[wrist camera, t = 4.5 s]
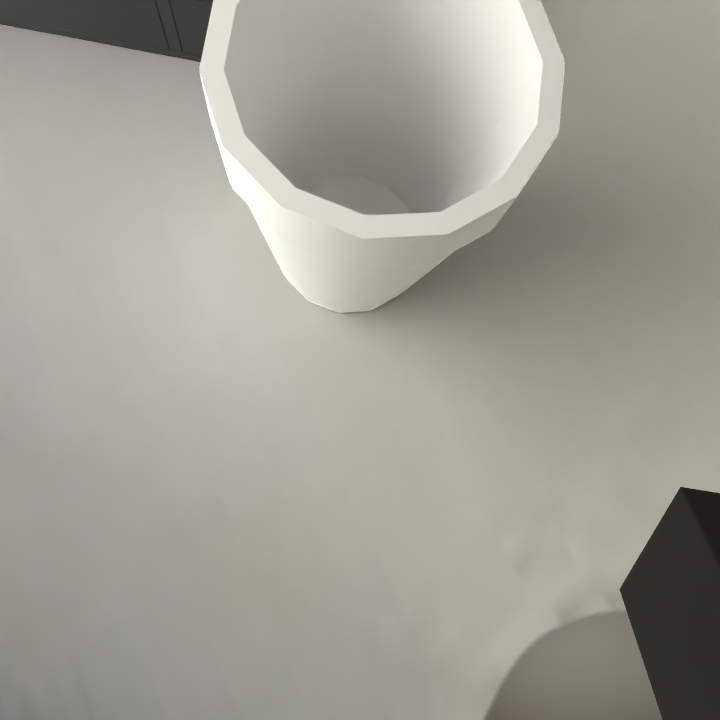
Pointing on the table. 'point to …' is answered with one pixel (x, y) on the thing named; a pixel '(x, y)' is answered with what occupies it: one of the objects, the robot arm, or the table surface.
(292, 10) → the foam cup
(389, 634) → the table surface
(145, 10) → the organizer
